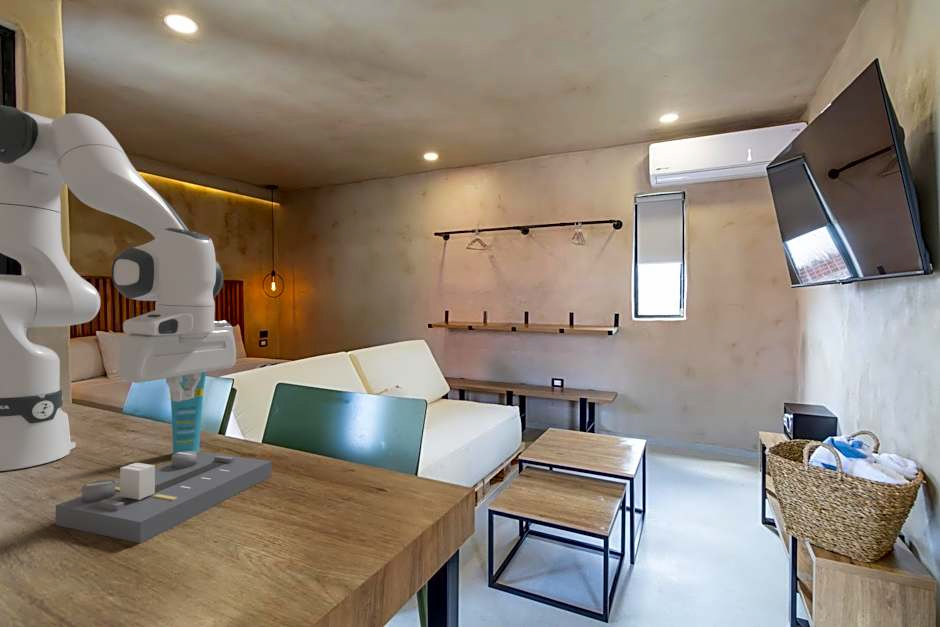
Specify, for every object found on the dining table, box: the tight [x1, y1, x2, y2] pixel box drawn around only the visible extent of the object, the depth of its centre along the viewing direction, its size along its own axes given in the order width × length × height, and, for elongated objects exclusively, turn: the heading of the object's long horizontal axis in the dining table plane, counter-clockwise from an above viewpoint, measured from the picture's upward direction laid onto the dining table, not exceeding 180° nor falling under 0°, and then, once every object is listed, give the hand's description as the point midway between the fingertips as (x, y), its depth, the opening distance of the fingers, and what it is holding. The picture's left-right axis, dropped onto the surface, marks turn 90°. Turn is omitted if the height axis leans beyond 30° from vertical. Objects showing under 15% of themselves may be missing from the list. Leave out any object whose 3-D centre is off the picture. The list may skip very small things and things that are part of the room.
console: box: [55, 451, 273, 544], centre depth 77 cm, size 17×26×5 cm, turn 164°
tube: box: [169, 372, 207, 455], centre depth 99 cm, size 7×5×19 cm, turn 123°
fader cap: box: [119, 462, 156, 500], centre depth 70 cm, size 4×2×5 cm, turn 74°
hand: (183, 399), depth 78 cm, fingers closed
